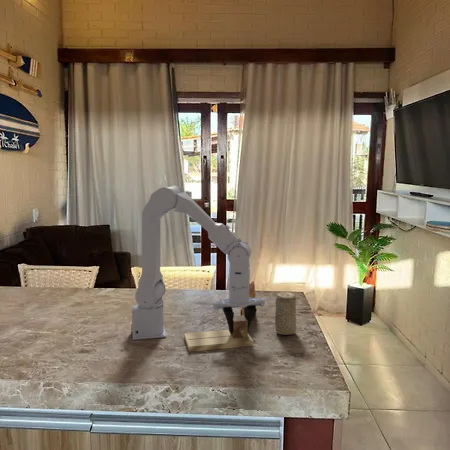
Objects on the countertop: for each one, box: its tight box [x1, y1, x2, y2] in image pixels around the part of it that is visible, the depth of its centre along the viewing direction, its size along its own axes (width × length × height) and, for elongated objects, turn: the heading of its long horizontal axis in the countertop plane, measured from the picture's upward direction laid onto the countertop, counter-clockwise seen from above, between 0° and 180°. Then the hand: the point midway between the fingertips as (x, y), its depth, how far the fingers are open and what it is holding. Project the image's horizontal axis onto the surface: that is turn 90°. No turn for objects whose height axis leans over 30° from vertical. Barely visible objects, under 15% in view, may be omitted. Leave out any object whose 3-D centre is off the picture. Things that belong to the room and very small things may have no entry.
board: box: [183, 329, 254, 353], centre depth 119 cm, size 18×9×2 cm, turn 103°
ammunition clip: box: [239, 281, 257, 319], centre depth 135 cm, size 11×2×12 cm, turn 159°
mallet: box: [231, 315, 249, 339], centre depth 118 cm, size 4×9×5 cm, turn 13°
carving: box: [274, 291, 297, 336], centre depth 125 cm, size 6×8×12 cm
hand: (238, 331), depth 121 cm, fingers closed on mallet, 4 cm apart
